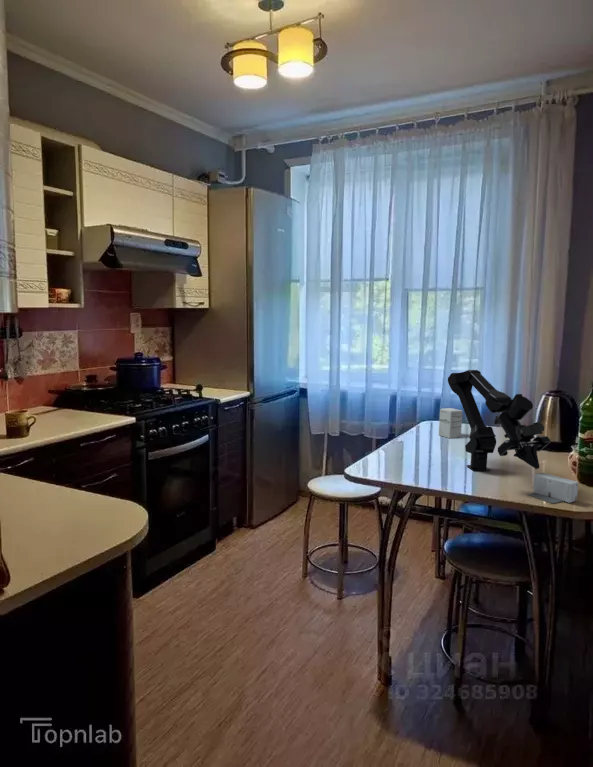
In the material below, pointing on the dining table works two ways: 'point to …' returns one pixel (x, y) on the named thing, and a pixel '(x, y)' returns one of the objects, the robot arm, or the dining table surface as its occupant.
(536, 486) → the skincare box
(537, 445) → the robot arm
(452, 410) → the supplement box
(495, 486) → the dining table surface
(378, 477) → the dining table surface
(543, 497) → the pad
